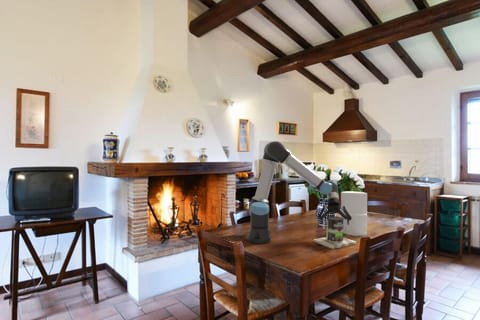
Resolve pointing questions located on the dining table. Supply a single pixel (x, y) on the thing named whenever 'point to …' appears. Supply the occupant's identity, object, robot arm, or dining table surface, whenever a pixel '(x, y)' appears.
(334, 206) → the robot arm
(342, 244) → the birch board
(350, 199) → the cylinder
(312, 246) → the dining table surface
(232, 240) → the dining table surface
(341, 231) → the coffee can
